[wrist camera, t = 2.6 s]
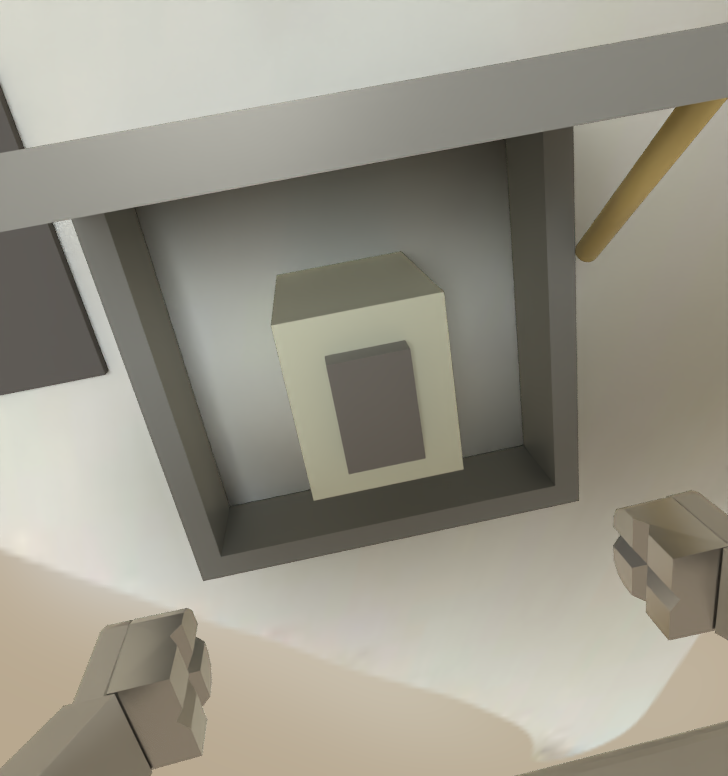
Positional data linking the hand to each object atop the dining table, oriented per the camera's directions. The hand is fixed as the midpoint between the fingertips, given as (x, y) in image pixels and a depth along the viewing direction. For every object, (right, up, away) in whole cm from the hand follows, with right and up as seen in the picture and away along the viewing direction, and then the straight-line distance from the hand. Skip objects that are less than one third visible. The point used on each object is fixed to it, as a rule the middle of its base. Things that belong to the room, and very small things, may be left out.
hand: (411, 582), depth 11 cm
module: (-1, +6, +13) cm, 14 cm away
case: (-1, +6, +13) cm, 14 cm away
